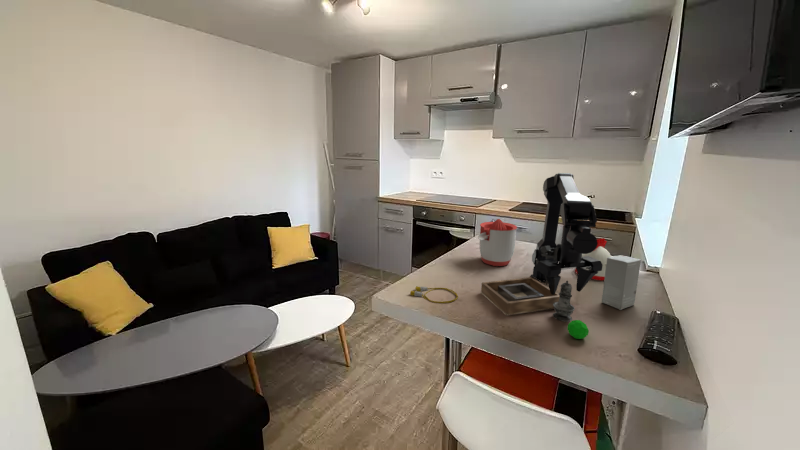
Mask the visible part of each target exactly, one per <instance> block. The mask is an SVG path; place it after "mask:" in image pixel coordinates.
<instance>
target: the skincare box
mask: <svg viewBox="0 0 800 450" xmlns="http://www.w3.org/2000/svg"><path fill="white" fill-rule="evenodd" d="M641 261H642V259H641V258H640V259H639V258H634V257H631V256H626V255H623V254H621V255H620V254H619V255H612V256H611V257H608V258H607V263H606V271H605V279H604V281H603V288H602V295H601V303H602V304H605V305H608V306H610V307H612V308H615V309H617V310H620V311H622V310H624V309H626V308H629V307H632V306H634V305H635V303H636V295H637V294H636V293H637V288H638V283H639V275H640V267H641V263H642V262H641Z"/></svg>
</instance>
